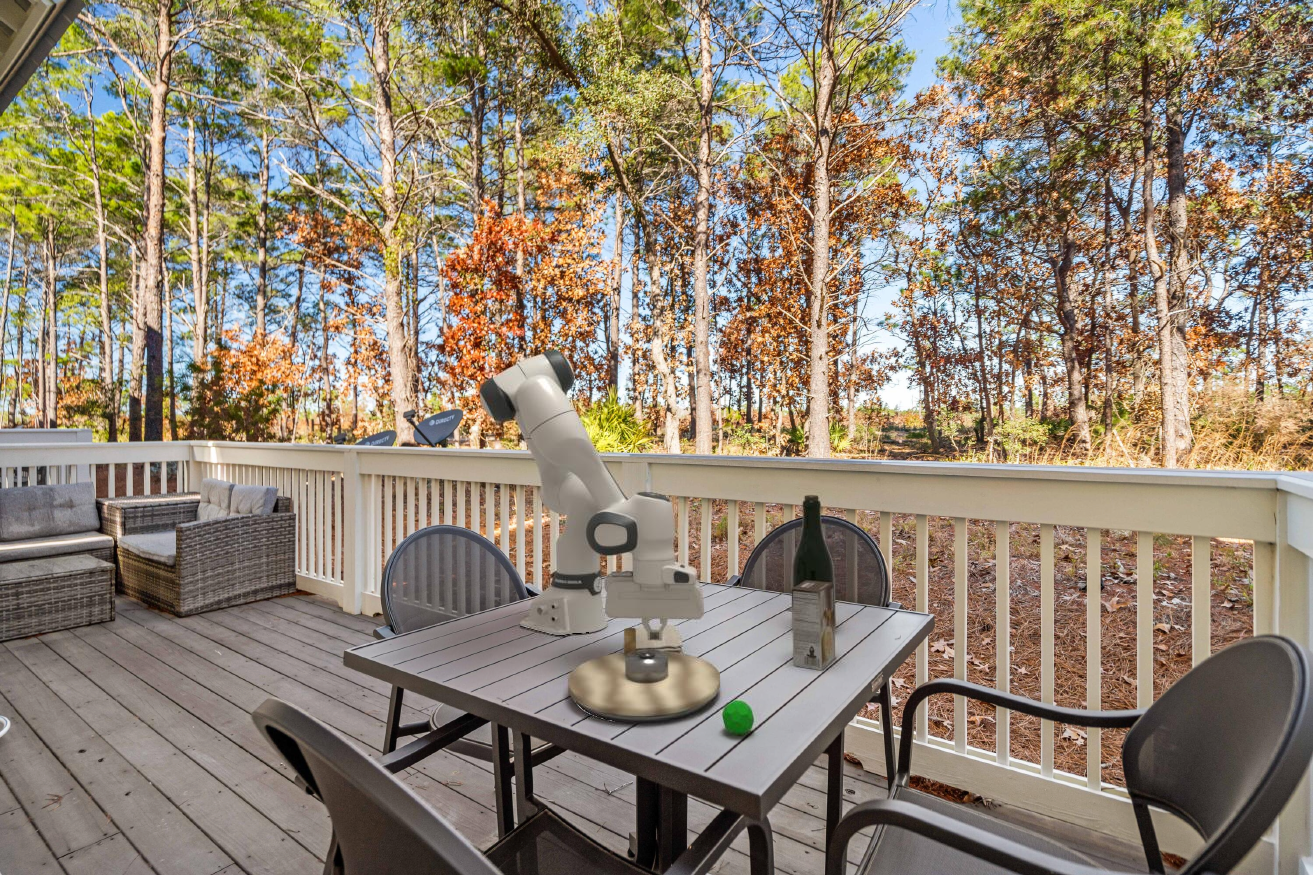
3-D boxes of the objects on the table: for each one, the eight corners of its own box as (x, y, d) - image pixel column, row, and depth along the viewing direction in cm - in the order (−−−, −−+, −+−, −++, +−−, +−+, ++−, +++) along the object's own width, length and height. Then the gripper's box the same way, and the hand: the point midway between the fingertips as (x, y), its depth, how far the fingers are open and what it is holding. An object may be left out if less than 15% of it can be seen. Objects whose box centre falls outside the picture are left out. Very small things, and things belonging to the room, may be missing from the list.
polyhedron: (720, 726, 102) (720, 696, 102) (750, 724, 103) (749, 695, 103) (725, 740, 97) (725, 709, 97) (756, 739, 98) (756, 708, 98)
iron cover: (629, 685, 112) (629, 662, 112) (622, 669, 120) (621, 648, 120) (673, 680, 114) (672, 658, 114) (662, 665, 121) (662, 644, 121)
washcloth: (631, 662, 134) (631, 647, 134) (625, 636, 152) (625, 624, 152) (686, 659, 136) (686, 644, 136) (674, 634, 154) (673, 621, 154)
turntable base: (545, 707, 111) (544, 684, 111) (619, 660, 134) (619, 641, 134) (679, 735, 99) (679, 710, 99) (735, 678, 123) (735, 658, 123)
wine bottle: (844, 634, 149) (841, 496, 150) (803, 638, 147) (800, 497, 147) (823, 622, 159) (821, 492, 160) (785, 626, 157) (782, 494, 158)
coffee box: (806, 653, 137) (805, 579, 137) (836, 658, 133) (834, 582, 134) (792, 666, 129) (790, 587, 129) (823, 671, 126) (821, 591, 126)
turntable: (578, 725, 99) (578, 684, 100) (560, 665, 127) (560, 633, 127) (743, 704, 106) (743, 666, 106) (693, 652, 134) (692, 621, 134)
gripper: (600, 574, 126) (601, 643, 126) (702, 575, 124) (703, 645, 124) (607, 568, 133) (608, 633, 133) (704, 569, 130) (705, 636, 130)
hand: (655, 639), depth 128 cm, fingers closed
